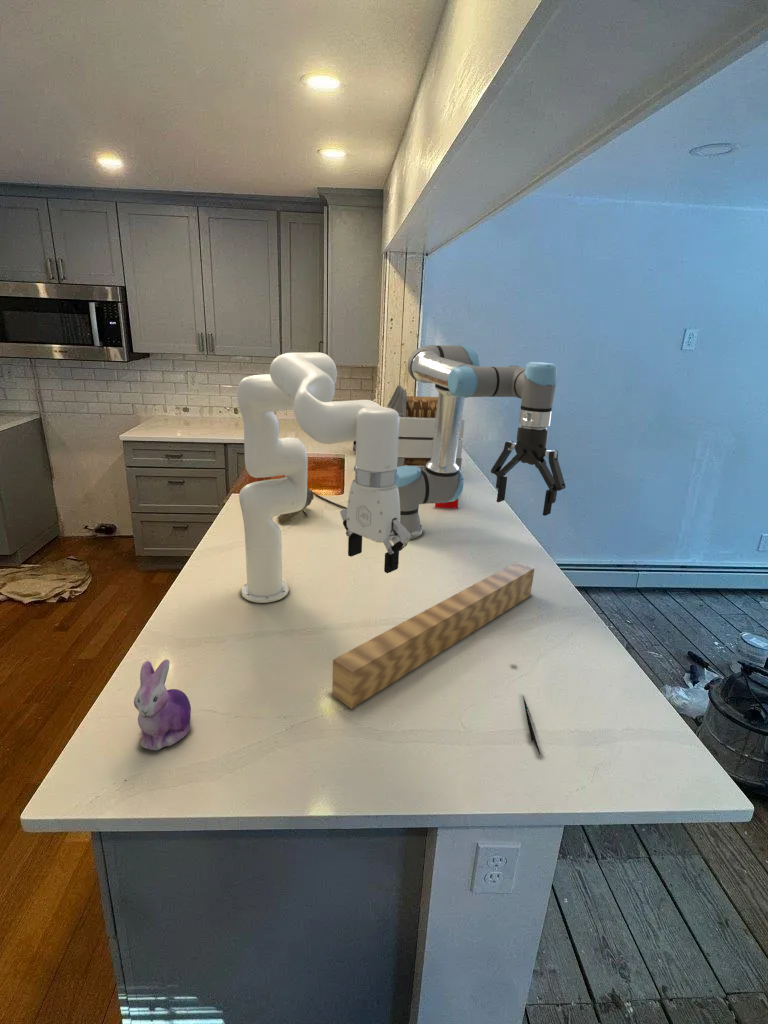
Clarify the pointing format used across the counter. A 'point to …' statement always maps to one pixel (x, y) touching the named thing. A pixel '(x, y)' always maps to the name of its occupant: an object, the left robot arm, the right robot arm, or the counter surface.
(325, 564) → the counter surface
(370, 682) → the beam
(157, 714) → the figurine
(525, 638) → the counter surface
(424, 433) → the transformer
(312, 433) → the left robot arm
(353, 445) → the figurine character
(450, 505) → the toy
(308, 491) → the fossil
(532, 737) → the feather
